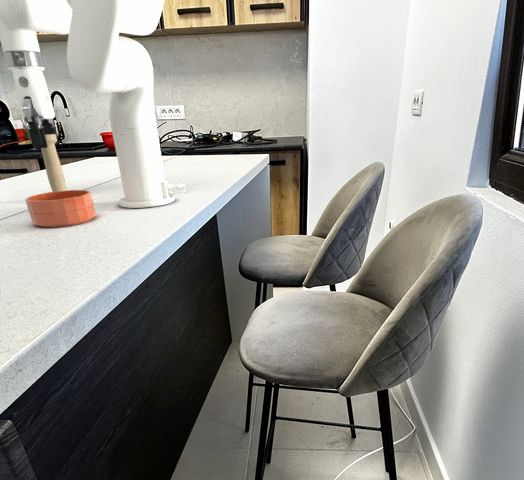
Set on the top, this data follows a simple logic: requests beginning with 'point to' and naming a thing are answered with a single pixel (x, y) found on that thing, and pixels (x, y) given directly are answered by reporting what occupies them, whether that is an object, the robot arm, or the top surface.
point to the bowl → (61, 208)
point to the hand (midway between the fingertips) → (46, 146)
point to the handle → (53, 165)
